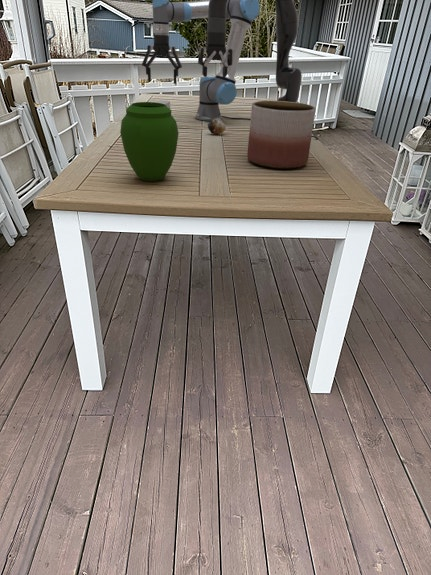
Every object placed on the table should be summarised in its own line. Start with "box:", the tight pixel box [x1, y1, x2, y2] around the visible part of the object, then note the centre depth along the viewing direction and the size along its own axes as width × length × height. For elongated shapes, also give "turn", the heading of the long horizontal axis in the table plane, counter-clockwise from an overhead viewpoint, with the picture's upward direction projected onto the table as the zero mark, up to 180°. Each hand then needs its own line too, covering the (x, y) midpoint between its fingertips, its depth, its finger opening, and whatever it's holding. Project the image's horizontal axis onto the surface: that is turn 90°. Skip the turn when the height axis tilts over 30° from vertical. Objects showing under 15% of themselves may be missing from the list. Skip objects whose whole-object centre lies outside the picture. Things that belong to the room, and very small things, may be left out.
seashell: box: [207, 118, 227, 135], centre depth 211 cm, size 10×6×8 cm, turn 97°
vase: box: [119, 101, 179, 182], centre depth 140 cm, size 20×20×24 cm
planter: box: [246, 100, 317, 170], centre depth 167 cm, size 25×25×22 cm
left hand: (162, 82), depth 211 cm, fingers open, 13 cm apart
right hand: (214, 76), depth 171 cm, fingers open, 8 cm apart
